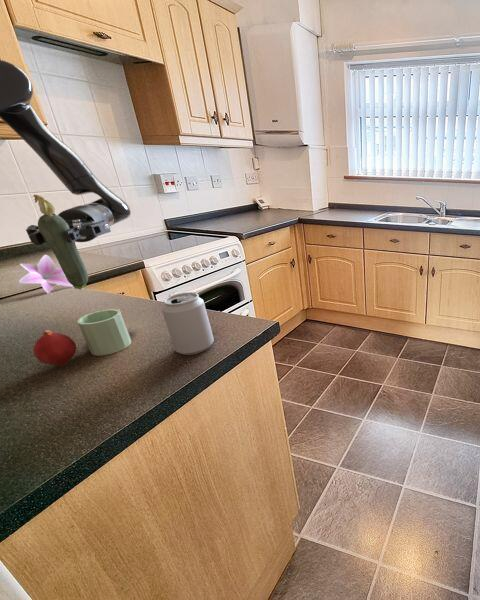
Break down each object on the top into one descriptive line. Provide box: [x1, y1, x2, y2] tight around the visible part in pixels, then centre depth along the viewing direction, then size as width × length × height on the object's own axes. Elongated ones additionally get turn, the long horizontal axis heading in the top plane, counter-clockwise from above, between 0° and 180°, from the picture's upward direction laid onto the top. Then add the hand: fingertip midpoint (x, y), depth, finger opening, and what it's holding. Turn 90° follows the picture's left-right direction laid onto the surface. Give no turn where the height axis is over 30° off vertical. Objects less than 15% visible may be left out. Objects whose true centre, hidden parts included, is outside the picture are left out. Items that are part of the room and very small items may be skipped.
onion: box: [32, 329, 77, 367], centre depth 66 cm, size 6×6×8 cm
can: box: [161, 291, 215, 356], centre depth 71 cm, size 8×8×12 cm
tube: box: [76, 308, 132, 357], centre depth 72 cm, size 7×7×8 cm
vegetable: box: [33, 194, 89, 290], centre depth 69 cm, size 4×4×20 cm
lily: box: [18, 254, 74, 294], centre depth 104 cm, size 12×12×10 cm
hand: (51, 238), depth 66 cm, fingers closed on vegetable, 4 cm apart
